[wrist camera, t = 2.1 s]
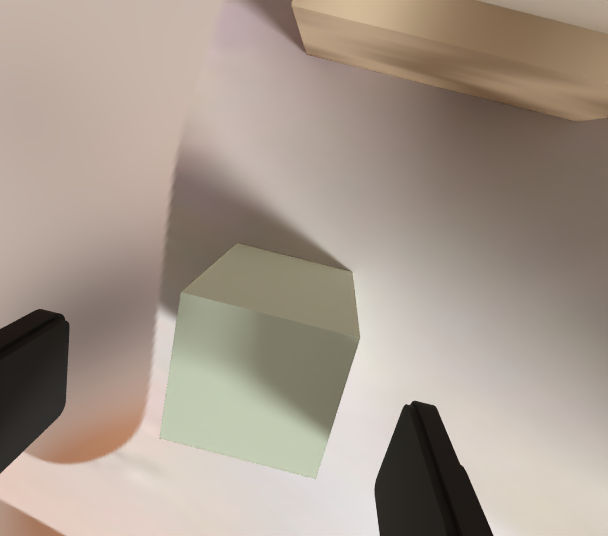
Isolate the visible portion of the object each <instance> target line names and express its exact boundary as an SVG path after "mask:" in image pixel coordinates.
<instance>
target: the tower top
mask: <svg viewBox="0 0 608 536" xmlns="http://www.w3.org/2000/svg"><path fill="white" fill-rule="evenodd" d="M477 1H481V2H485V3H489V4H493V5H497V6H501V7H504V8H508V9H512V10H516V11H520V12H524V13H528V14H532V15H535V16H539V17H543V18H547V19H551V20H555V21H559V22H562V23H566V24H570V25H574V26H578V27H582V28H586V29H590V30H593V31H597V32H601V33H605V34H608V0H477Z"/></svg>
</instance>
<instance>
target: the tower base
mask: <svg viewBox="0 0 608 536" xmlns="http://www.w3.org/2000/svg"><path fill="white" fill-rule="evenodd" d="M291 6H292V9H293V12H294V16H295V19H296V22H297V25H298V28H299V31H300V35H301V38H302V41H303V44H304V47H305V50H306V53H307V55H311V56H315V57H319V58H323V59H327V60H331V61H335V62H339V63H343V64H347V65H351V66H355V67H359V68H363V69H367V70H372V71H376V72H380V73H384V74H388V75H392V76H396V77H400V78H404V79H408V80H412V81H416V82H420V83H424V84H428V85H432V86H436V87H440V88H444V89H448V90H452V91H456V92H460V93H464V94H468V95H472V96H476V97H480V98H484V99H488V100H492V101H496V102H500V103H504V104H508V105H512V106H516V107H520V108H525V109H529V110H533V111H537V112H541V113H545V114H549V115H553V116H557V117H561V118H565V119H569V120H573V121H577V122H579V121H586V120H593V119H600V118H607V117H608V34H605V33H601V32H597V31H593V30H590V29H586V28H582V27H578V26H574V25H570V24H566V23H562V22H559V21H555V20H551V19H547V18H543V17H539V16H535V15H532V14H528V13H524V12H520V11H516V10H512V9H508V8H504V7H501V6H497V5H493V4H489V3H485V2H481V1H477V0H292V4H291Z"/></svg>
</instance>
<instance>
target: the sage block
mask: <svg viewBox="0 0 608 536" xmlns="http://www.w3.org/2000/svg"><path fill="white" fill-rule="evenodd" d="M359 340H360V333H359V324H358V316H357V307H356V298H355V290H354V281H353V272H350V271H346V270H342V269H338V268H334V267H330V266H326V265H323V264H319V263H315V262H311V261H307V260H303V259H299V258H295V257H291V256H287V255H283V254H279V253H275V252H271V251H267V250H263V249H259V248H255V247H251V246H247V245H243V244H239V243H237V244H235V245H234V246H233V247H232V248H231V249H230V250H229V251H227V252H226V253H225V254H224V255H223V256H222V257H220V258H219V259H218V260H217V261H216V262H215V263H214V264H212V265H211V266H210V267H209V268H208V269H207V270H206V271H204V272H203V273H202V274H201V275H200V276H199V277H197V278H196V279H195V280H194V281H193V282H192V283H191V284H189V285H188V286H187V287H186V288H185V289H184V290H183V291H181V293H180V300H179V307H178V314H177V321H176V328H175V335H174V342H173V349H172V356H171V362H170V369H169V376H168V383H167V390H166V397H165V404H164V411H163V418H162V425H161V432H160V439H164V440H168V441H172V442H176V443H180V444H183V445H187V446H191V447H195V448H199V449H203V450H206V451H210V452H214V453H218V454H222V455H225V456H229V457H233V458H237V459H241V460H245V461H248V462H252V463H256V464H260V465H264V466H268V467H271V468H275V469H279V470H283V471H287V472H291V473H294V474H298V475H302V476H306V477H310V478H313V479H316V477H317V474H318V470H319V467H320V464H321V461H322V458H323V454H324V451H325V448H326V445H327V442H328V438H329V435H330V432H331V429H332V426H333V423H334V419H335V416H336V413H337V410H338V407H339V403H340V400H341V397H342V394H343V391H344V387H345V384H346V381H347V378H348V375H349V371H350V368H351V365H352V362H353V359H354V356H355V352H356V349H357V346H358V343H359Z"/></svg>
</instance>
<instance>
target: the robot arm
mask: <svg viewBox="0 0 608 536" xmlns="http://www.w3.org/2000/svg"><path fill="white" fill-rule="evenodd" d="M68 344H69V323H68V322H67V321H65V318H64V316H63V315H62V314H59V313H54V312H51V311H47V310H43V309H38V310H35V311H34V312H32V313H30V314H28V315H26V316H24V317H22V318H20V319H18V320H17V321H15V322H13V323H11V324H9V325H7V326H5V327H3V328H1V329H0V473H1V472H2V471H3V470H4V469H5V468H6V467H8V466H9V465H10V464H11V463H12V462H13V461H14V460H15V459H16V458H17V457H18V456H19V455H20V454H21V453H22V452H23V451H24V450H25V449H26V448H27V447H28V446H29V445H30V444H31V443H32V442H33V441H34V440H35V439H36V438H37V437H39V435H41V434H42V433H43V432H44V431H45V430H46V429H47V428H48V427H49V426H50V425H51V424H52V423H53V422H54V421H55V420H56V419H57V418H58V417H59V416H60V415H61V413H62V411H63V409H64V407H65V403H66V385H67V366H68V346H69V345H68ZM375 501H376V509H377V516H378V524H379V532H380V536H493V534H492V531H491V529H490V526H489V524H488V522H487V519H486V517H485V515H484V512H483V510H482V508H481V505H480V503H479V501H478V498H477V496H476V494H475V491H474V489H473V487H472V484H471V482H470V479H469V477H468V475H467V472H466V471H465V469H464V467H463V466H461V465H460V463H459V461H458V458H457V456H456V453H455V451H454V449H453V446H452V444H451V441H450V439H449V437H448V434H447V432H446V429H445V427H444V424H443V422H442V420H441V417H440V415H439V412H438V410H437V408H436V406H434V405H430V404H426V403H422V402H418V401H413V402H412V403H411V405H407V404H406V405H405V406H404V407H403V409H402V412H401V414H400V417H399V420H398V422H397V425H396V428H395V430H394V433H393V436H392V438H391V441H390V444H389V446H388V449H387V452H386V454H385V457H384V460H383V462H382V465H381V468H380V470H379V473H378V476H377V478H376V482H375Z"/></svg>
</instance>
